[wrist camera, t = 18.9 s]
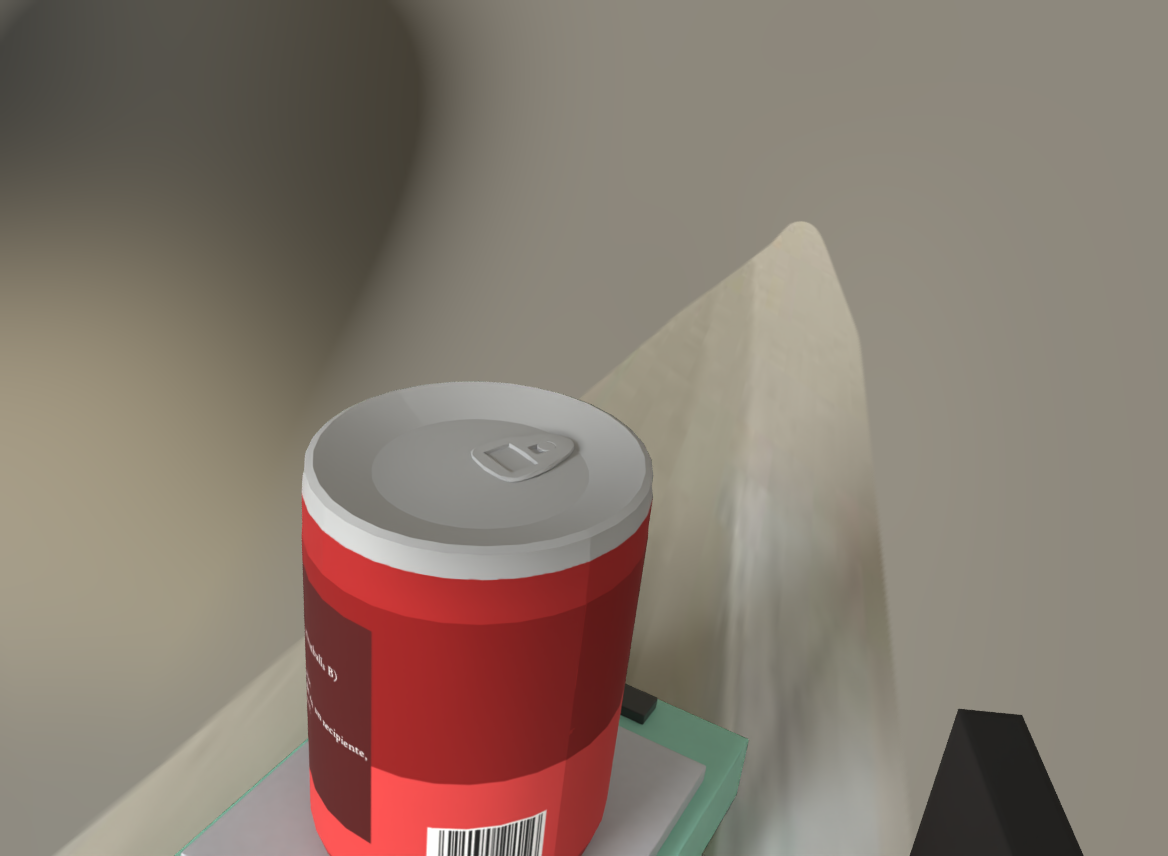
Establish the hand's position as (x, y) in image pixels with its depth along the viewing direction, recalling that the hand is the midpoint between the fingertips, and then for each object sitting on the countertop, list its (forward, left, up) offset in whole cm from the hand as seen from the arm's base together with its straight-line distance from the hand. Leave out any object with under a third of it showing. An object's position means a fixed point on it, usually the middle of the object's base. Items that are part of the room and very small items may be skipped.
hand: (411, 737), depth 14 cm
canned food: (+5, -10, -14) cm, 18 cm away
